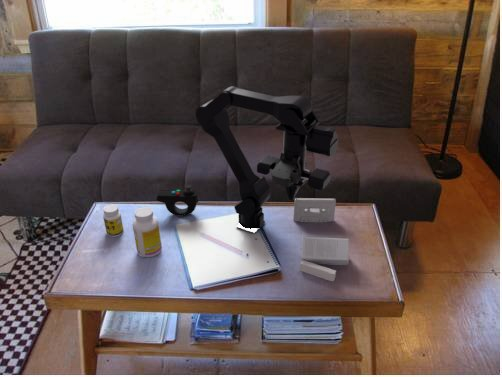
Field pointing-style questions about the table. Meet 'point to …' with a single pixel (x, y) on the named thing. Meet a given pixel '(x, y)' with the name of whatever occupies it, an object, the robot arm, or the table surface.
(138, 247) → the supplement bottle
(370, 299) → the table surface
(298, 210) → the cassette
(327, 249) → the skincare box
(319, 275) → the u rest
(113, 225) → the supplement bottle
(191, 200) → the controller
